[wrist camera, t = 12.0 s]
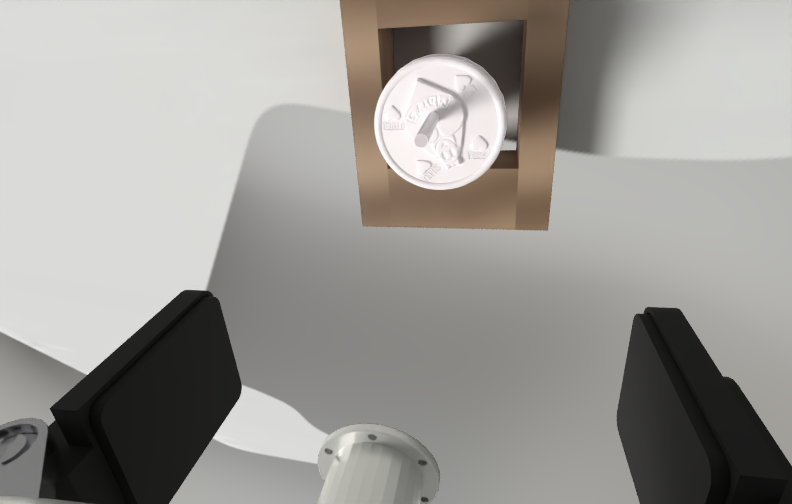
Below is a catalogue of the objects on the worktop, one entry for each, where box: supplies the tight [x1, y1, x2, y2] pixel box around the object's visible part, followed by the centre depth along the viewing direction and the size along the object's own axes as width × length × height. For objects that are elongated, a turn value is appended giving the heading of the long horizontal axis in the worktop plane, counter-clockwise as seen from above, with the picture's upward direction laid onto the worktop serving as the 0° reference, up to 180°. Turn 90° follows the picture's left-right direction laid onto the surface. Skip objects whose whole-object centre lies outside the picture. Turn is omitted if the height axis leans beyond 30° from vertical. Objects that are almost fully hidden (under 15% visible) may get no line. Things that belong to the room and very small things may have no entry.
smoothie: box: [374, 53, 507, 190], centre depth 25 cm, size 6×6×14 cm
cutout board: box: [340, 0, 569, 230], centre depth 29 cm, size 16×12×4 cm
